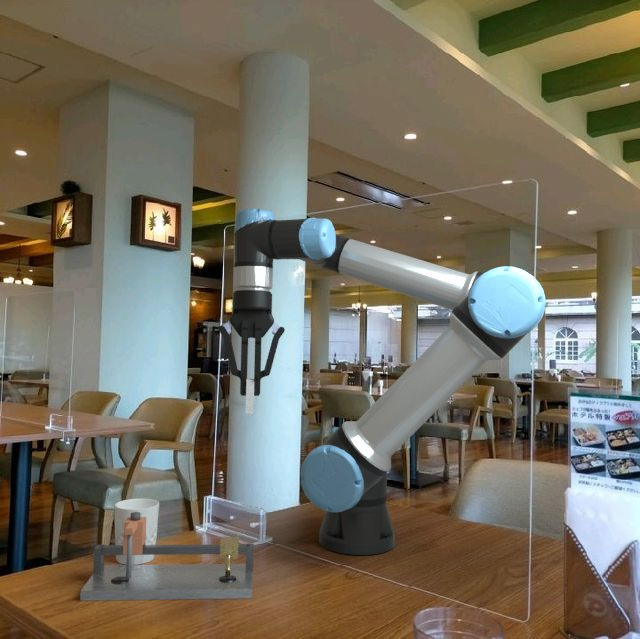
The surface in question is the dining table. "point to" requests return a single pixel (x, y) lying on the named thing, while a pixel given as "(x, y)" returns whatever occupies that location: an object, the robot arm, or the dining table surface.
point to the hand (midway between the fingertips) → (249, 412)
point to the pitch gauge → (173, 574)
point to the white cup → (147, 509)
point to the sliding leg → (133, 538)
